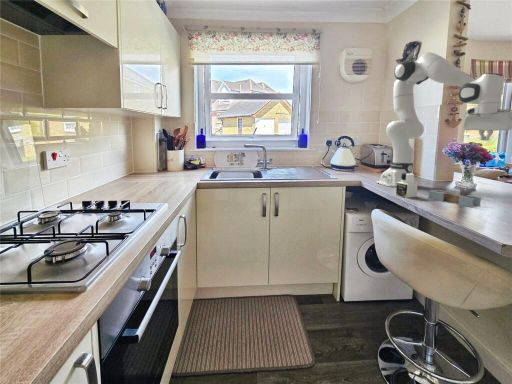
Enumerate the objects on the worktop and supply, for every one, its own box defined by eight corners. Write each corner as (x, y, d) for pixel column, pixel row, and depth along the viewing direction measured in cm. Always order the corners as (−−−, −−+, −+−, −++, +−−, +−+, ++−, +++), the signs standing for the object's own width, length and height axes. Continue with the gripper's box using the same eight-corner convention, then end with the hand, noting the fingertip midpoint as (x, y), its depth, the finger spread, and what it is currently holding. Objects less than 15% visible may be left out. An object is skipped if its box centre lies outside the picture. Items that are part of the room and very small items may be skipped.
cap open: (458, 204, 154) (459, 196, 153) (466, 203, 156) (467, 195, 156) (471, 207, 148) (472, 198, 148) (480, 206, 151) (481, 197, 150)
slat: (432, 199, 167) (433, 191, 166) (436, 198, 168) (437, 190, 168) (464, 205, 153) (465, 197, 152) (468, 205, 154) (469, 196, 154)
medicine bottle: (395, 195, 175) (397, 172, 173) (406, 194, 178) (408, 172, 175) (405, 198, 169) (407, 174, 166) (416, 197, 171) (418, 173, 169)
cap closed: (428, 198, 167) (429, 190, 166) (436, 197, 170) (437, 189, 169) (442, 201, 160) (443, 193, 160) (450, 200, 163) (451, 192, 163)
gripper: (518, 108, 145) (513, 141, 147) (470, 110, 163) (467, 139, 165) (510, 108, 142) (505, 141, 145) (462, 110, 160) (459, 139, 163)
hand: (484, 140), depth 155 cm, fingers closed
